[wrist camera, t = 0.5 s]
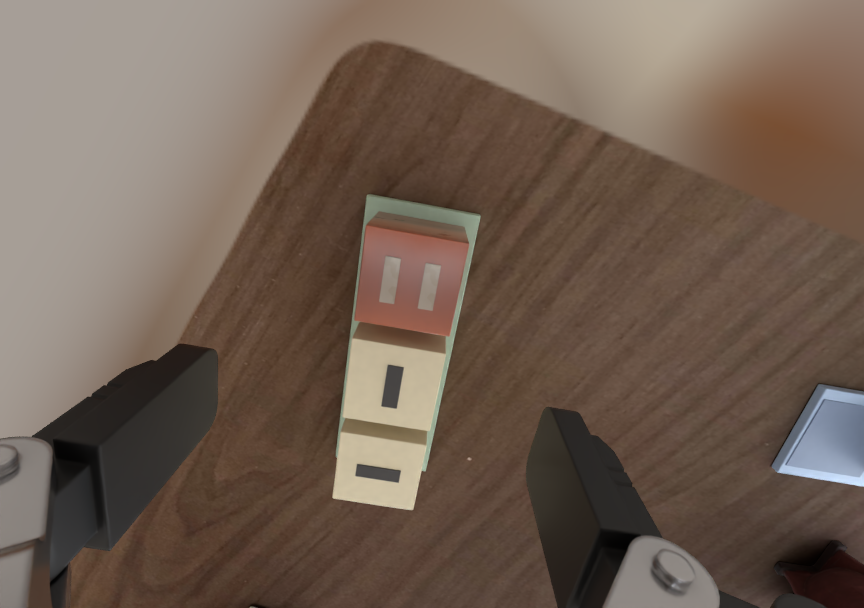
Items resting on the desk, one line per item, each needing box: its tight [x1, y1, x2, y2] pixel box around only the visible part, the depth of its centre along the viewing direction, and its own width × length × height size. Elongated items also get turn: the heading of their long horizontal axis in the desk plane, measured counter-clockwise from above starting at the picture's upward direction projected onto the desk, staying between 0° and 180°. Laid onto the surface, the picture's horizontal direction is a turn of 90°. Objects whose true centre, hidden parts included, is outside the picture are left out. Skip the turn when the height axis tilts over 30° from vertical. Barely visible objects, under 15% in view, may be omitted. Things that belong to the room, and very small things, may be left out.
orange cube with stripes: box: [354, 211, 469, 337], centre depth 21 cm, size 5×5×4 cm
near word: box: [333, 194, 481, 510], centre depth 24 cm, size 17×6×5 cm, turn 170°
